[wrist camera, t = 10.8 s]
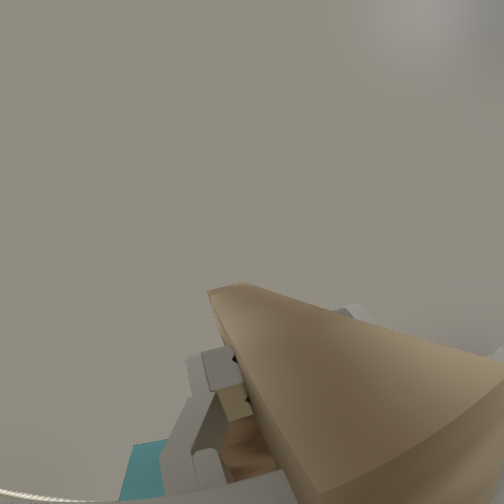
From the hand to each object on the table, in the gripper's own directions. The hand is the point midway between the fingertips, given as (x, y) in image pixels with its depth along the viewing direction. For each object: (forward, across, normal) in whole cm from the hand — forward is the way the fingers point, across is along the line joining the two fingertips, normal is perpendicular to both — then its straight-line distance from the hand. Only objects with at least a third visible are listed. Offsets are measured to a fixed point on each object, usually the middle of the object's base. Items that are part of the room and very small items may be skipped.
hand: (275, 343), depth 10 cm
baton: (+2, 0, +3) cm, 4 cm away
